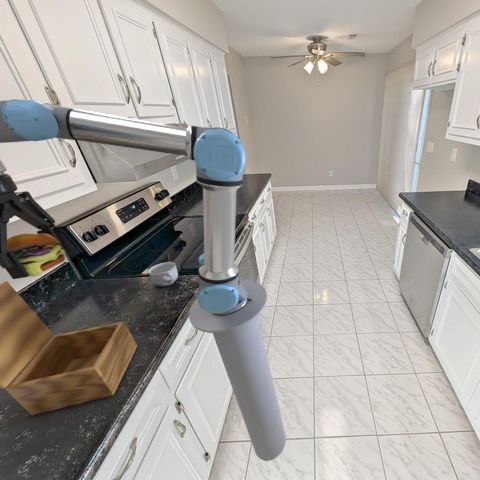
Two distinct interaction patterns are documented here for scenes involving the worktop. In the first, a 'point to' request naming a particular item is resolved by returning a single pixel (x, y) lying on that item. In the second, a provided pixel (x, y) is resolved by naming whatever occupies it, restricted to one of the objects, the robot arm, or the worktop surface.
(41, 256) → the cheeseburger
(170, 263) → the teacup
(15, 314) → the lid
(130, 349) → the chest
